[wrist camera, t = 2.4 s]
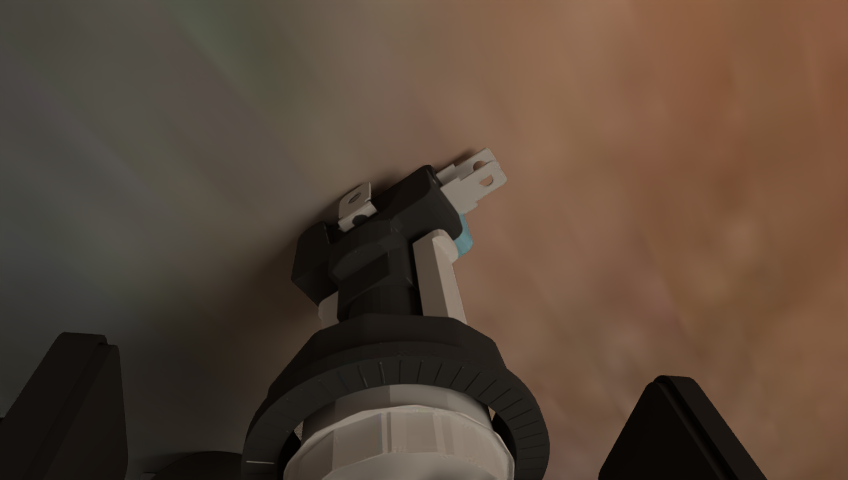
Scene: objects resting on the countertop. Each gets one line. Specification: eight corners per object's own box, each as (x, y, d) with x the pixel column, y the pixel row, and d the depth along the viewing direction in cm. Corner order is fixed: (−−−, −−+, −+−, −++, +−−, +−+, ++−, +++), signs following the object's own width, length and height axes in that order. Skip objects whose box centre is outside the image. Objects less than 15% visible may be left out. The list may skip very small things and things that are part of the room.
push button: (443, 78, 15) (547, 292, 7) (533, 215, 18) (692, 499, 9) (258, 207, 17) (150, 519, 8) (365, 317, 19) (369, 645, 11)
